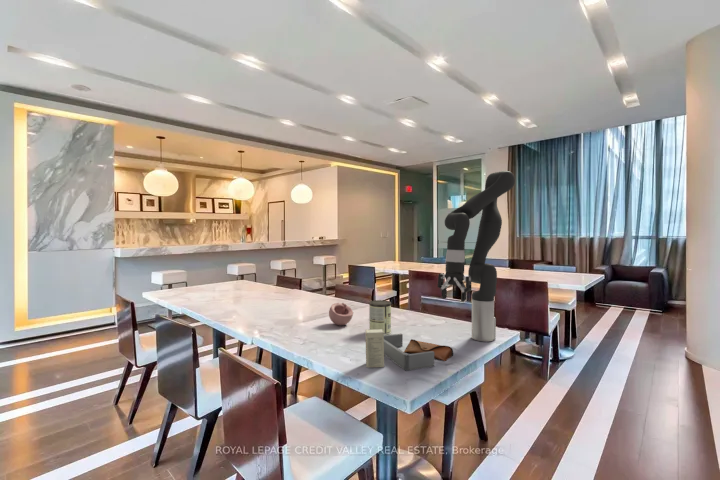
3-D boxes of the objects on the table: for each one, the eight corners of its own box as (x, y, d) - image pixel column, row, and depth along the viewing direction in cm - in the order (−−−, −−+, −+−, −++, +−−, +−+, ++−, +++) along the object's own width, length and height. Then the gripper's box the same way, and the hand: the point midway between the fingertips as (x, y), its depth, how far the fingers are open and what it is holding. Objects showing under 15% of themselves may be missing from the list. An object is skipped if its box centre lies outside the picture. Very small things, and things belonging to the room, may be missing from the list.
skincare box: (383, 363, 125) (383, 328, 125) (384, 367, 121) (384, 332, 121) (365, 363, 125) (365, 328, 125) (365, 367, 121) (365, 332, 121)
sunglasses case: (401, 352, 136) (404, 335, 139) (407, 357, 142) (411, 340, 144) (446, 361, 127) (449, 343, 130) (451, 366, 132) (454, 348, 135)
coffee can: (369, 329, 170) (370, 299, 170) (391, 329, 169) (391, 300, 169) (368, 335, 160) (368, 304, 160) (391, 335, 159) (391, 304, 159)
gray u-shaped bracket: (401, 345, 145) (401, 333, 145) (434, 366, 122) (434, 352, 122) (376, 348, 141) (376, 336, 141) (405, 370, 118) (405, 356, 118)
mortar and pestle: (339, 329, 169) (339, 305, 169) (324, 324, 178) (324, 302, 178) (357, 325, 177) (357, 302, 177) (342, 320, 186) (342, 299, 186)
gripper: (475, 262, 145) (473, 301, 144) (444, 259, 154) (443, 297, 154) (466, 262, 139) (465, 303, 139) (435, 259, 149) (433, 298, 149)
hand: (453, 299), depth 146 cm, fingers open, 8 cm apart
